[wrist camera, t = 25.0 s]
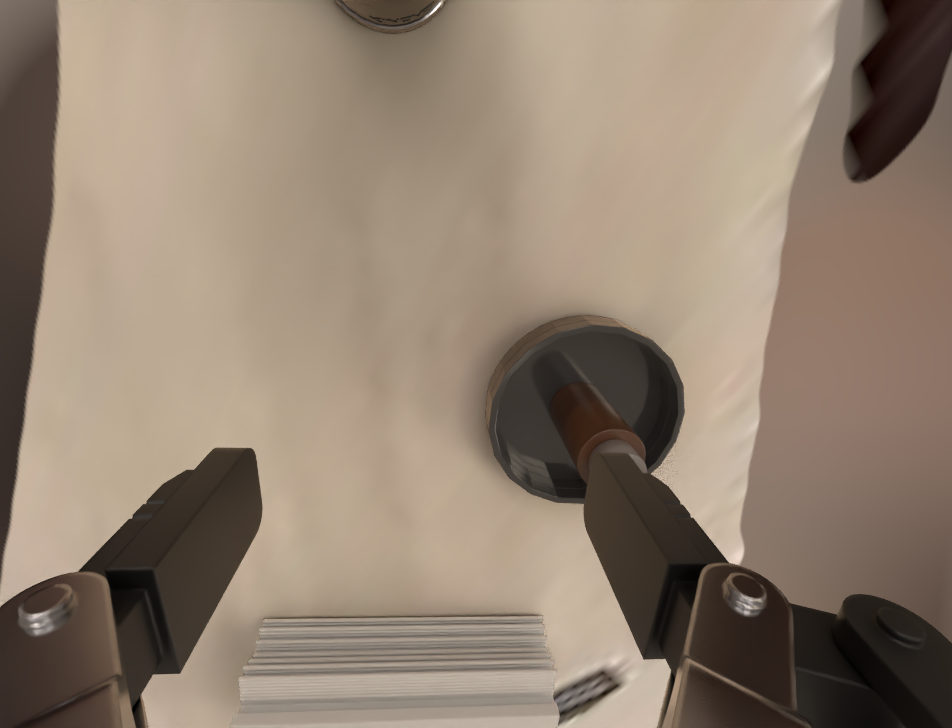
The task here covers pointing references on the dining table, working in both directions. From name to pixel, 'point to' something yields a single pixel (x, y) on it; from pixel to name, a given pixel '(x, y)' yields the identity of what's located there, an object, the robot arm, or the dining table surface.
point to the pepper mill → (592, 427)
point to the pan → (569, 361)
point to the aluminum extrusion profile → (399, 674)
